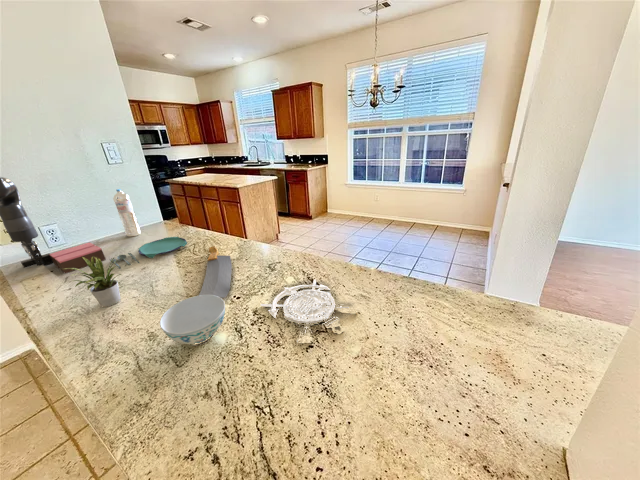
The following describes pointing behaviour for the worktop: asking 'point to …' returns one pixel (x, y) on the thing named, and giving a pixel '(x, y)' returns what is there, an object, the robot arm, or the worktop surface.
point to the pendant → (305, 304)
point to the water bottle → (126, 214)
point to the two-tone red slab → (76, 257)
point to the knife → (31, 262)
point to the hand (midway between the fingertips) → (39, 264)
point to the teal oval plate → (155, 248)
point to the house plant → (101, 283)
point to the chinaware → (193, 319)
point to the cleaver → (217, 275)
